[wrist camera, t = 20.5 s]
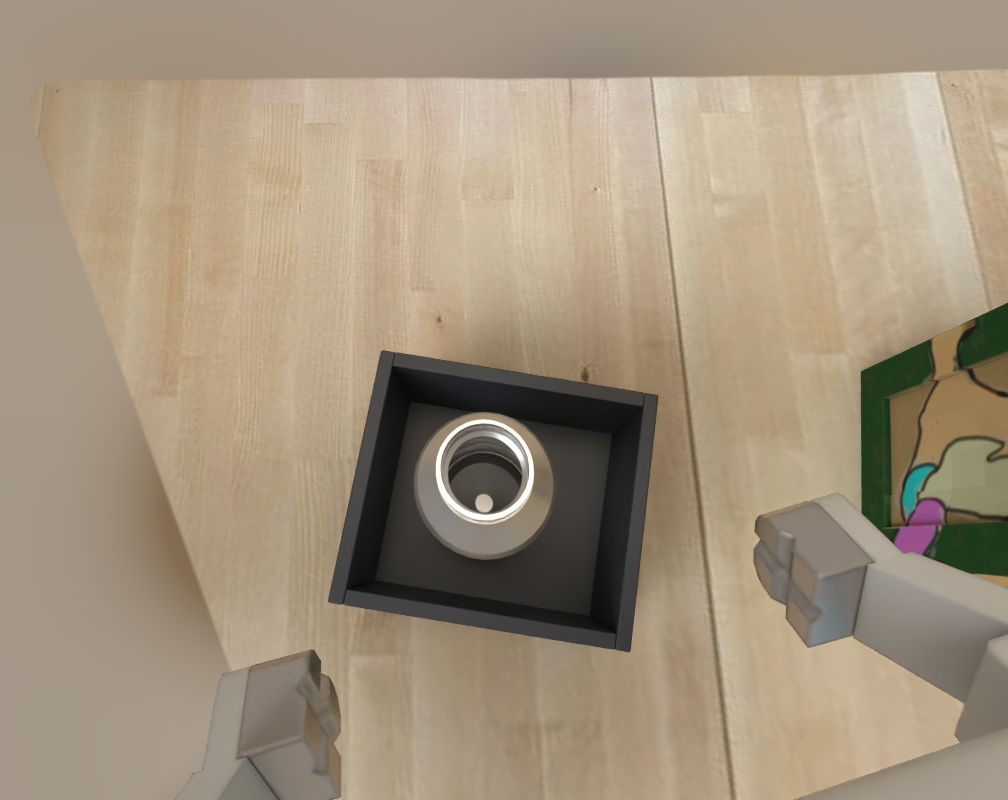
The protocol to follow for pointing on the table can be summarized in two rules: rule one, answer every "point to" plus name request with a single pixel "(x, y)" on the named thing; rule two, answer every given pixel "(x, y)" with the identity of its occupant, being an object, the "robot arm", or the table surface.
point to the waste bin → (560, 546)
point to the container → (942, 447)
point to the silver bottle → (485, 485)
